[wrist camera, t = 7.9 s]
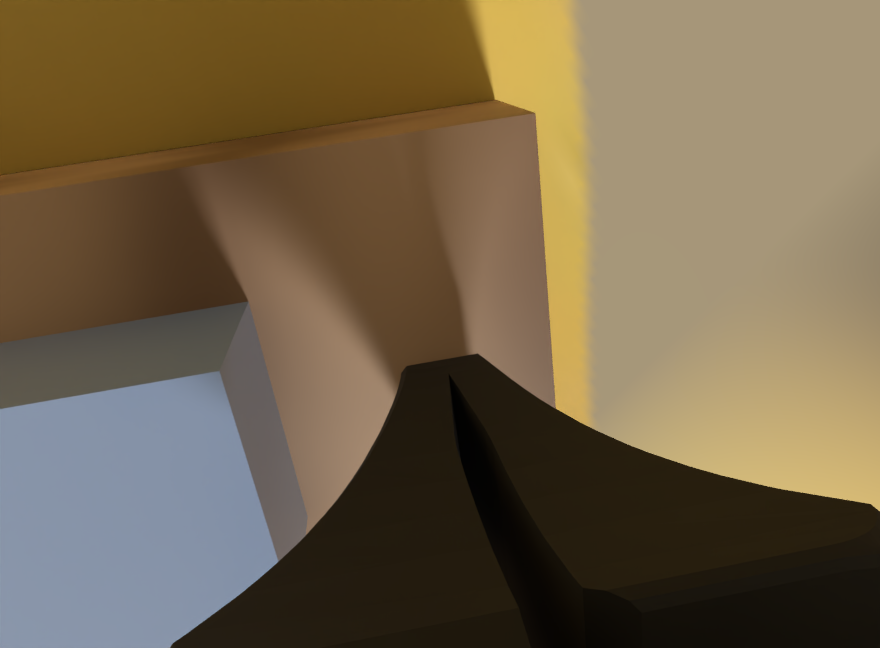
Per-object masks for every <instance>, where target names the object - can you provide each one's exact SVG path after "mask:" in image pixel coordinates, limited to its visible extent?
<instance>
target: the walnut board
mask: <svg viewBox="0 0 880 648" xmlns="http://www.w3.org/2000/svg"><path fill="white" fill-rule="evenodd" d="M242 302H249V305H250V309H251V312H252V316H253V320H254V323H255V327H256V331H257V334H258V338H259V342H260V345H261V349H262V352H263V356H264V360H265V363H266V367H267V371H268V374H269V378H270V382H271V385H272V389H273V392H274V396H275V400H276V403H277V407H278V411H279V414H280V418H281V421H282V425H283V429H284V432H285V436H286V440H287V443H288V447H289V451H290V454H291V458H292V461H293V465H294V469H295V472H296V476H297V480H298V483H299V487H300V491H301V494H302V498H303V501H304V505H305V509H306V512H307V516H308V517H307V527H306V535H307V533H308V532H309V531H310V530H311V529H312V528H313V527H314V526H315V525H316V524H317V522H318V521H319V520H320V519H321V518H322V517H323V516H324V515H325V513H326V512H327V511H328V510H329V509H330V508H331V506H332V505H333V504H334V503H335V501H336V500H337V499H338V498H339V496H340V495H341V493H342V492H343V491H344V489H345V488H346V487H347V485H348V484H349V483H350V481H351V480H352V478H353V477H354V475H355V474H356V472H357V471H358V469H359V468H360V466H361V464H362V463H363V461H364V460H365V458H366V456H367V454H368V452H369V451H370V449H371V447H372V445H373V443H374V442H375V440H376V438H377V436H378V434H379V432H380V430H381V428H382V426H383V424H384V422H385V420H386V417H387V415H388V413H389V411H390V408H391V406H392V404H393V401H394V398H395V395H396V393H397V390H398V386H399V383H400V378H401V373H402V371H403V370H404V369H405V367H406V366H409V365H415V364H420V363H426V362H432V361H437V360H443V359H449V358H455V357H460V356H466V355H472V354H477V353H478V354H479V355H481V356H482V357H483V358H485V359H486V360H487V361H489V362H490V363H491V364H493V365H494V366H495V367H496V368H498V369H499V370H500V371H502V372H503V373H504V374H505V375H507V376H508V377H509V378H511V379H512V380H513V381H515V382H516V383H517V384H519V385H520V386H522V387H523V388H524V389H526V390H527V391H529V392H530V393H532V394H533V395H535V396H536V397H538V398H539V399H541V400H542V401H544V402H545V403H547V404H549V405H550V406H552V407H554V408H555V409H556V407H555V393H554V378H553V364H552V349H551V335H550V320H549V305H548V291H547V276H546V262H545V247H544V233H543V218H542V204H541V189H540V175H539V160H538V145H537V131H536V116H535V113H533V112H530V111H527V110H524V109H521V108H518V107H515V106H512V105H510V104H507V103H504V102H501V101H498V100H492V101H485V102H478V103H472V104H465V105H459V106H452V107H446V108H439V109H432V110H426V111H419V112H413V113H406V114H400V115H393V116H386V117H380V118H373V119H367V120H360V121H354V122H347V123H340V124H334V125H327V126H321V127H314V128H308V129H301V130H295V131H288V132H281V133H275V134H268V135H262V136H255V137H249V138H242V139H235V140H229V141H222V142H216V143H209V144H203V145H196V146H189V147H183V148H176V149H170V150H163V151H157V152H150V153H143V154H137V155H130V156H124V157H117V158H111V159H104V160H97V161H91V162H84V163H78V164H71V165H65V166H58V167H52V168H45V169H38V170H32V171H25V172H19V173H12V174H6V175H0V343H4V342H10V341H16V340H22V339H28V338H34V337H40V336H46V335H52V334H58V333H64V332H70V331H76V330H81V329H87V328H93V327H99V326H105V325H111V324H117V323H123V322H129V321H135V320H141V319H147V318H153V317H159V316H165V315H171V314H177V313H183V312H189V311H195V310H200V309H206V308H212V307H218V306H224V305H230V304H236V303H242Z"/></svg>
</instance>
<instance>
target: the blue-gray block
mask: <svg viewBox="0 0 880 648" xmlns="http://www.w3.org/2000/svg"><path fill="white" fill-rule="evenodd" d="M307 517H308V516H307V512H306V509H305V505H304V501H303V498H302V494H301V491H300V487H299V483H298V480H297V476H296V472H295V469H294V465H293V461H292V458H291V454H290V451H289V447H288V443H287V440H286V436H285V432H284V429H283V425H282V421H281V418H280V414H279V411H278V407H277V403H276V400H275V396H274V392H273V389H272V385H271V382H270V378H269V374H268V371H267V367H266V363H265V360H264V356H263V352H262V349H261V345H260V342H259V338H258V334H257V331H256V327H255V323H254V320H253V316H252V312H251V309H250V305H249V302H242V303H236V304H230V305H224V306H218V307H212V308H206V309H200V310H195V311H189V312H183V313H177V314H171V315H165V316H159V317H153V318H147V319H141V320H135V321H129V322H123V323H117V324H111V325H105V326H99V327H93V328H87V329H81V330H76V331H70V332H64V333H58V334H52V335H46V336H40V337H34V338H28V339H22V340H16V341H10V342H4V343H0V648H170V647H171V645H172V644H173V643H174V642H175V641H177V640H178V639H180V638H181V637H183V636H184V635H185V634H187V633H188V632H190V631H191V630H192V629H194V628H195V627H197V626H198V625H199V624H201V623H202V622H203V621H205V620H206V619H207V618H209V617H210V616H211V615H213V614H214V613H215V612H217V611H218V610H219V609H221V608H222V607H223V606H225V605H226V604H227V603H229V602H230V601H232V600H233V599H234V598H236V597H237V596H238V595H240V594H241V593H242V592H243V591H245V590H246V589H247V588H248V587H249V586H251V585H252V584H253V583H254V582H256V581H257V580H258V579H259V578H260V577H261V576H263V575H264V574H265V573H266V572H267V571H268V570H269V569H271V568H272V567H273V566H274V565H275V564H276V563H277V562H279V561H280V560H281V559H282V558H283V557H284V556H285V555H286V554H287V553H288V552H289V551H290V550H291V549H292V548H294V547H295V546H296V545H297V544H298V543H299V542H300V541H301V540H302V539H303V538H304V537H305V536H306V527H307Z"/></svg>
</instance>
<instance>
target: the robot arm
mask: <svg viewBox="0 0 880 648" xmlns="http://www.w3.org/2000/svg"><path fill="white" fill-rule="evenodd" d="M170 648H880V511H878V510H877V509H876V508H875V507H873V506H872V505H871V504H866V503H860V502H855V501H849V500H843V499H837V498H830V497H824V496H818V495H812V494H806V493H800V492H794V491H788V490H782V489H777V488H772V487H767V486H763V485H759V484H755V483H751V482H746V481H742V480H738V479H734V478H730V477H725V476H721V475H718V474H714V473H710V472H707V471H703V470H700V469H696V468H693V467H689V466H686V465H683V464H680V463H677V462H674V461H671V460H669V459H665V458H663V457H660V456H657V455H654V454H651V453H648V452H645V451H643V450H640V449H638V448H635V447H632V446H630V445H627V444H625V443H623V442H621V441H618V440H616V439H614V438H612V437H609V436H607V435H605V434H603V433H600V432H598V431H596V430H594V429H592V428H590V427H588V426H586V425H584V424H582V423H580V422H578V421H576V420H575V419H573V418H571V417H569V416H568V415H566V414H564V413H562V412H561V411H559V410H557V409H555V408H554V407H552V406H550V405H549V404H547V403H545V402H544V401H542V400H541V399H539V398H538V397H536V396H535V395H533V394H532V393H530V392H529V391H527V390H526V389H524V388H523V387H522V386H520V385H519V384H517V383H516V382H515V381H513V380H512V379H511V378H509V377H508V376H507V375H505V374H504V373H503V372H502V371H500V370H499V369H498V368H496V367H495V366H494V365H493V364H491V363H490V362H489V361H487V360H486V359H485V358H483V357H482V356H481V355H479V354H478V353H477V354H472V355H466V356H460V357H455V358H449V359H443V360H437V361H432V362H426V363H420V364H415V365H409V366H406V367H405V369H404V370H403V371H402V373H401V378H400V383H399V386H398V390H397V393H396V395H395V398H394V401H393V404H392V406H391V408H390V411H389V413H388V415H387V417H386V420H385V422H384V424H383V426H382V428H381V430H380V432H379V434H378V436H377V438H376V440H375V442H374V443H373V445H372V447H371V449H370V451H369V452H368V454H367V456H366V458H365V460H364V461H363V463H362V464H361V466H360V468H359V469H358V471H357V472H356V474H355V475H354V477H353V478H352V480H351V481H350V483H349V484H348V485H347V487H346V488H345V489H344V491H343V492H342V493H341V495H340V496H339V498H338V499H337V500H336V501H335V503H334V504H333V505H332V506H331V508H330V509H329V510H328V511H327V512H326V513H325V515H324V516H323V517H322V518H321V519H320V520H319V521H318V522H317V524H316V525H315V526H314V527H313V528H312V529H311V530H310V531H309V532H308V533H307V535H306V536H305V537H304V538H303V539H302V540H301V541H300V542H299V543H298V544H297V545H296V546H295V547H294V548H292V549H291V550H290V551H289V552H288V553H287V554H286V555H285V556H284V557H283V558H282V559H281V560H280V561H279V562H277V563H276V564H275V565H274V566H273V567H272V568H271V569H269V570H268V571H267V572H266V573H265V574H264V575H263V576H261V577H260V578H259V579H258V580H257V581H256V582H254V583H253V584H252V585H251V586H249V587H248V588H247V589H246V590H245V591H243V592H242V593H241V594H240V595H238V596H237V597H236V598H234V599H233V600H232V601H230V602H229V603H227V604H226V605H225V606H223V607H222V608H221V609H219V610H218V611H217V612H215V613H214V614H213V615H211V616H210V617H209V618H207V619H206V620H205V621H203V622H202V623H201V624H199V625H198V626H197V627H195V628H194V629H192V630H191V631H190V632H188V633H187V634H185V635H184V636H183V637H181V638H180V639H178V640H177V641H175V642H174V643H173V644H172V645H171V647H170Z"/></svg>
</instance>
